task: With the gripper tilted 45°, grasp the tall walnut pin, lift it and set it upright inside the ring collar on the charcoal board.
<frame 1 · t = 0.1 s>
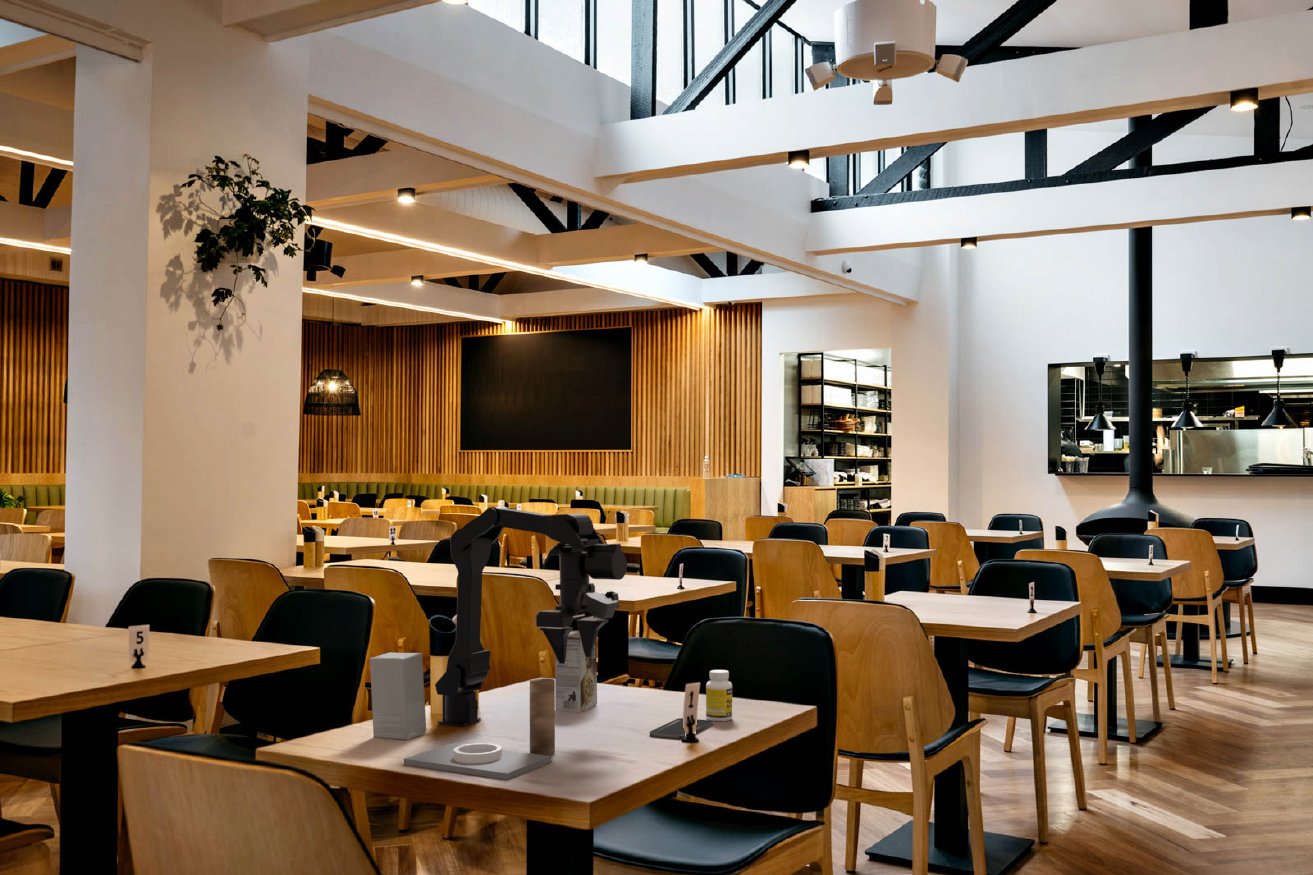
hand: (575, 660, 208), 15 cm above the table, tool pointing down, fingers open, 9 cm apart
skincare box: (397, 737, 209), on the table
walnut pin: (542, 753, 195), on the table
coffee box: (576, 708, 236), on the table
supplement bottle: (719, 720, 223), on the table
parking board: (477, 763, 188), on the table
phone: (682, 733, 213), on the table
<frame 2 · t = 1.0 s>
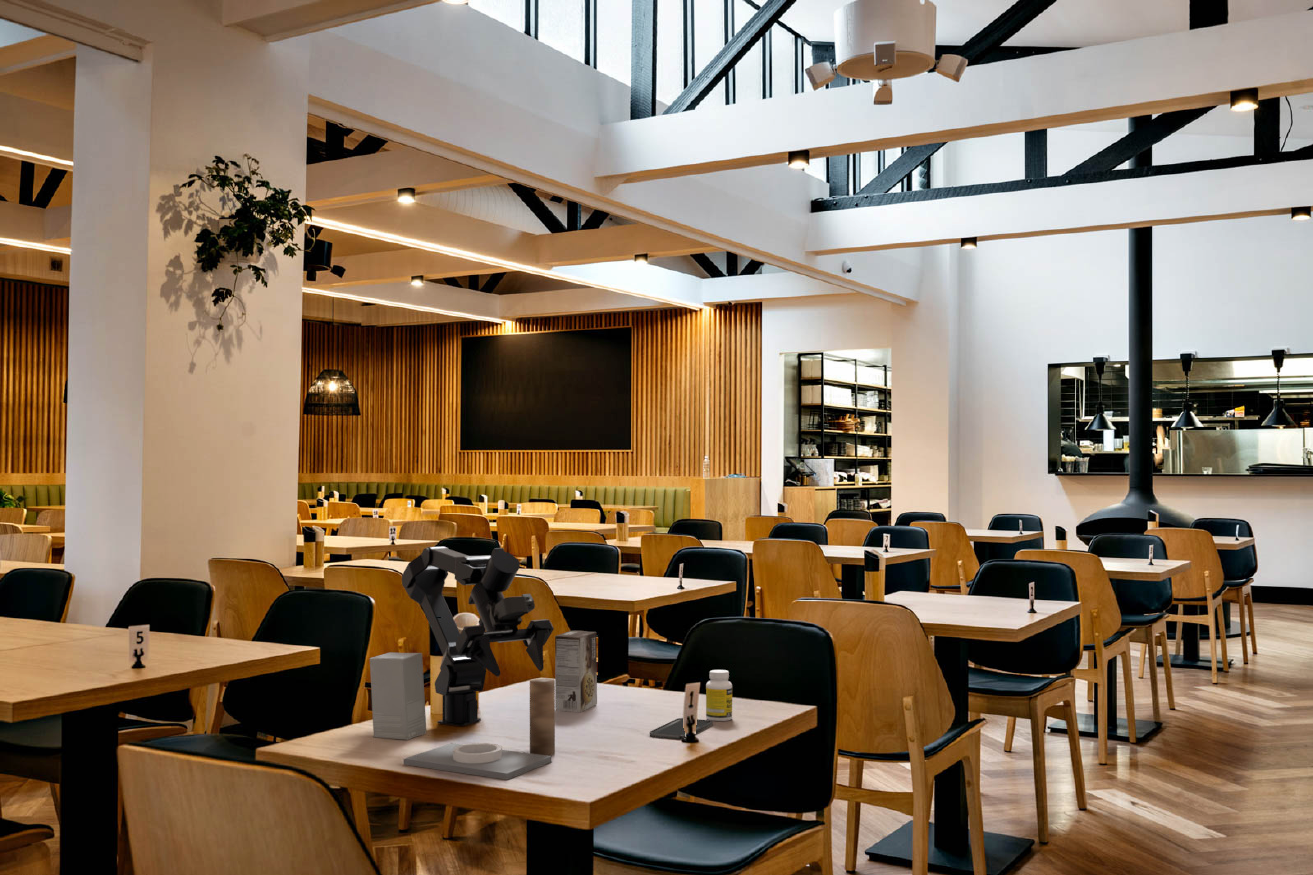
hand: (520, 672, 202), 13 cm above the table, tool tilted 45°, fingers open, 9 cm apart
nothing on the table moved.
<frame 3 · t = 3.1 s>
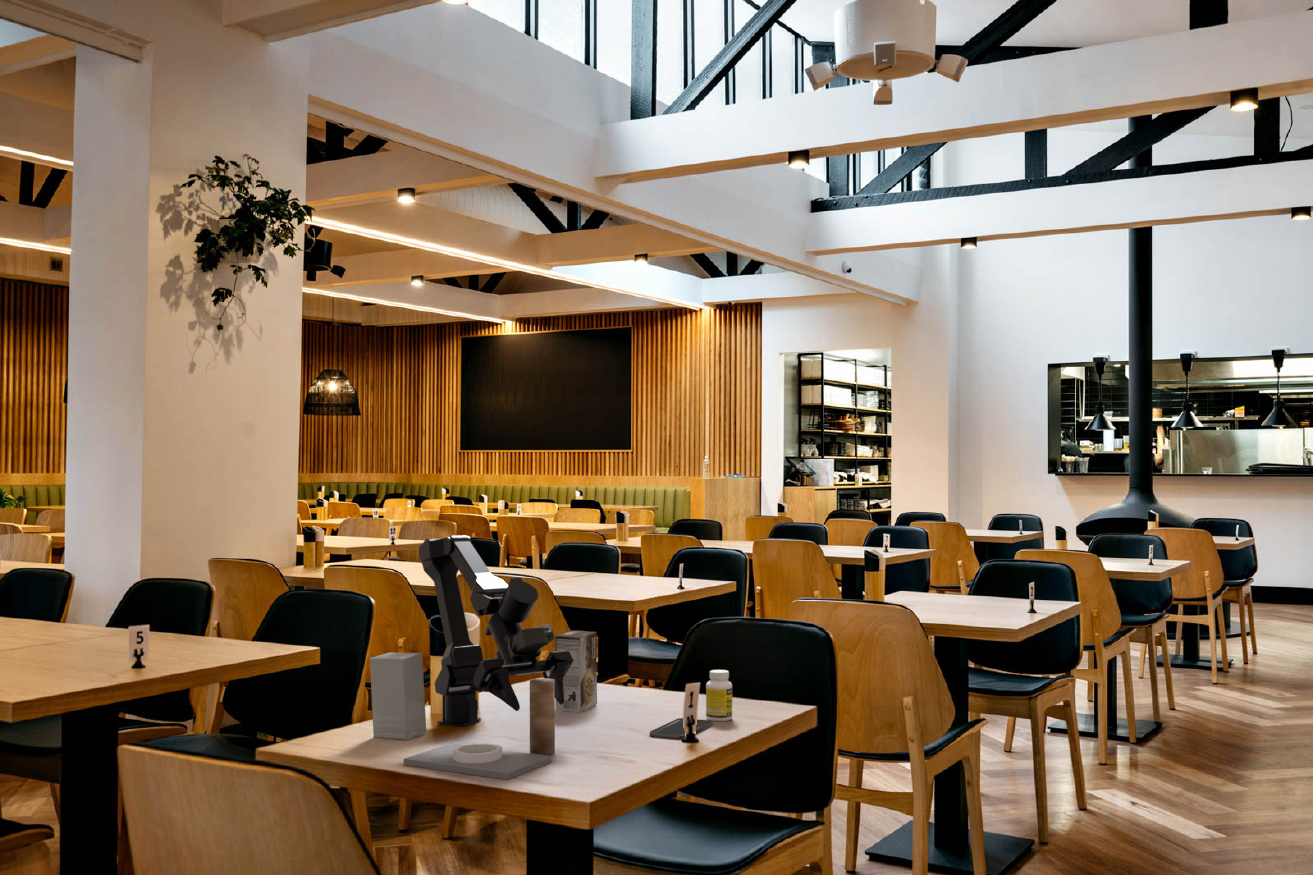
hand: (540, 706, 195), 8 cm above the table, tool tilted 45°, fingers open, 9 cm apart
nothing on the table moved.
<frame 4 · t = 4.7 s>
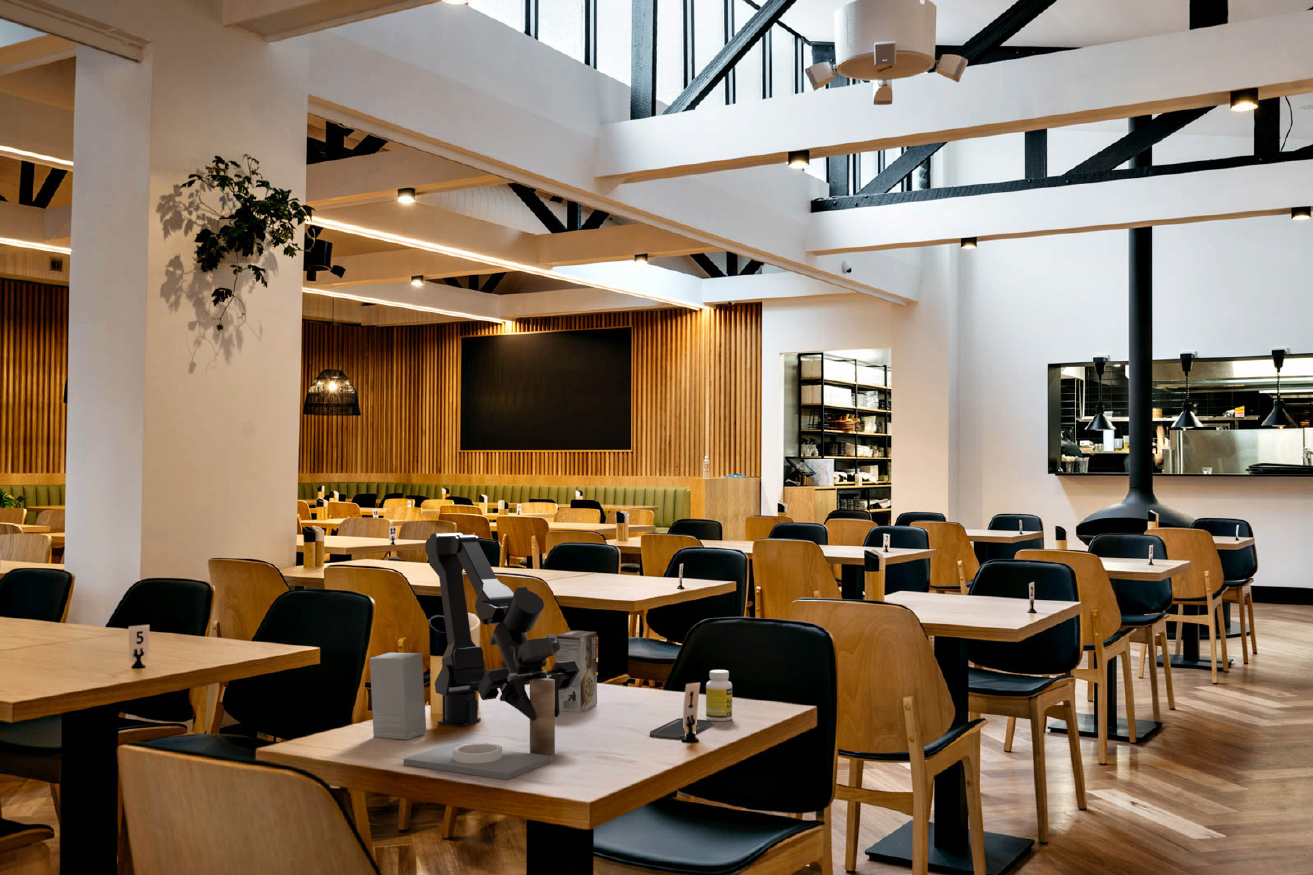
hand: (546, 717, 194), 7 cm above the table, tool tilted 45°, fingers closed on walnut pin, 4 cm apart
walnut pin: (542, 753, 195), on the table, touching gripper
everything else where it was.
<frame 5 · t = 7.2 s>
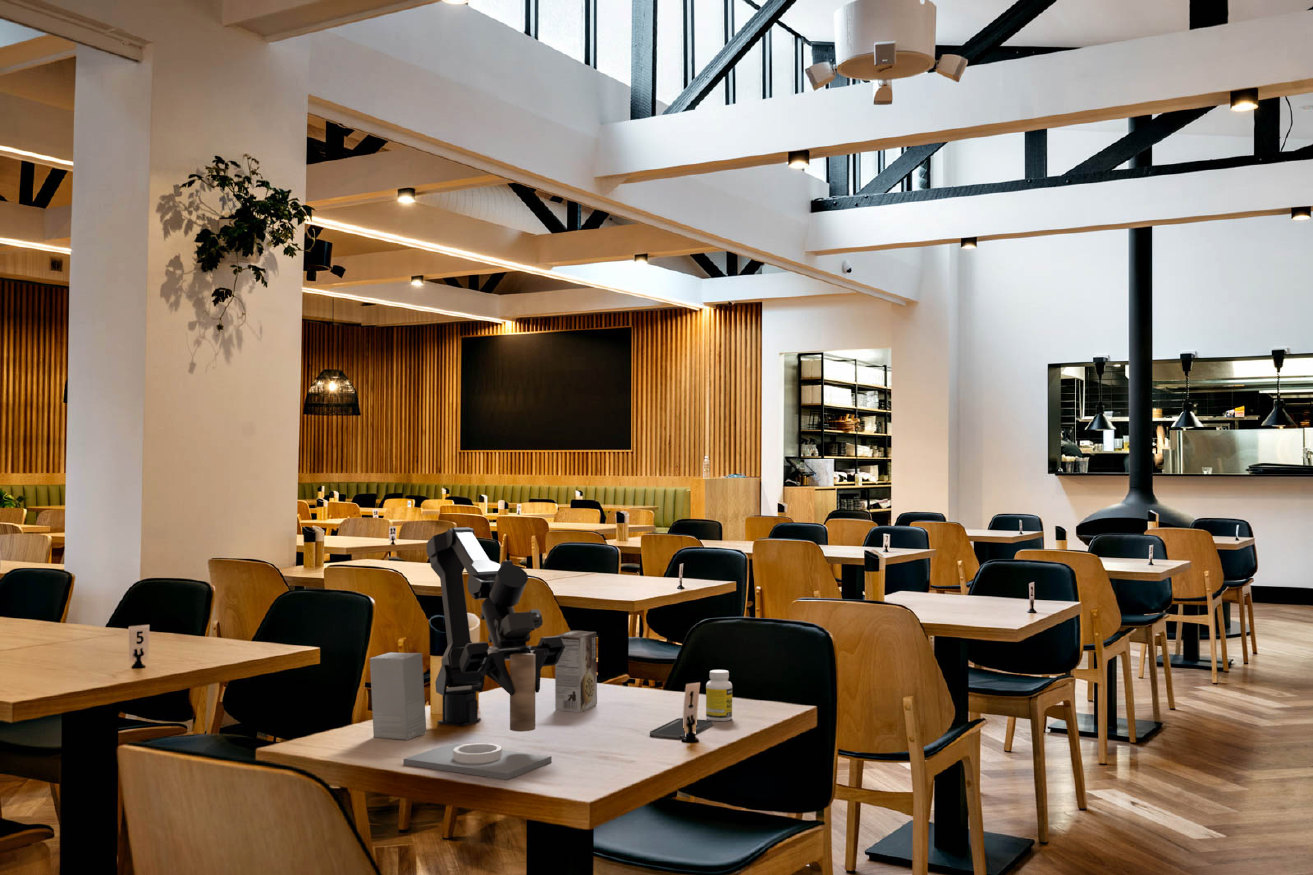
hand: (525, 692, 191), 12 cm above the table, tool tilted 45°, fingers closed on walnut pin, 4 cm apart
walnut pin: (522, 728, 192), point 5 cm above the table, touching gripper
everything else where it was.
when the fingers open (8 cm above the table, at t = 9.7 s): walnut pin stays where it is, resting on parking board.
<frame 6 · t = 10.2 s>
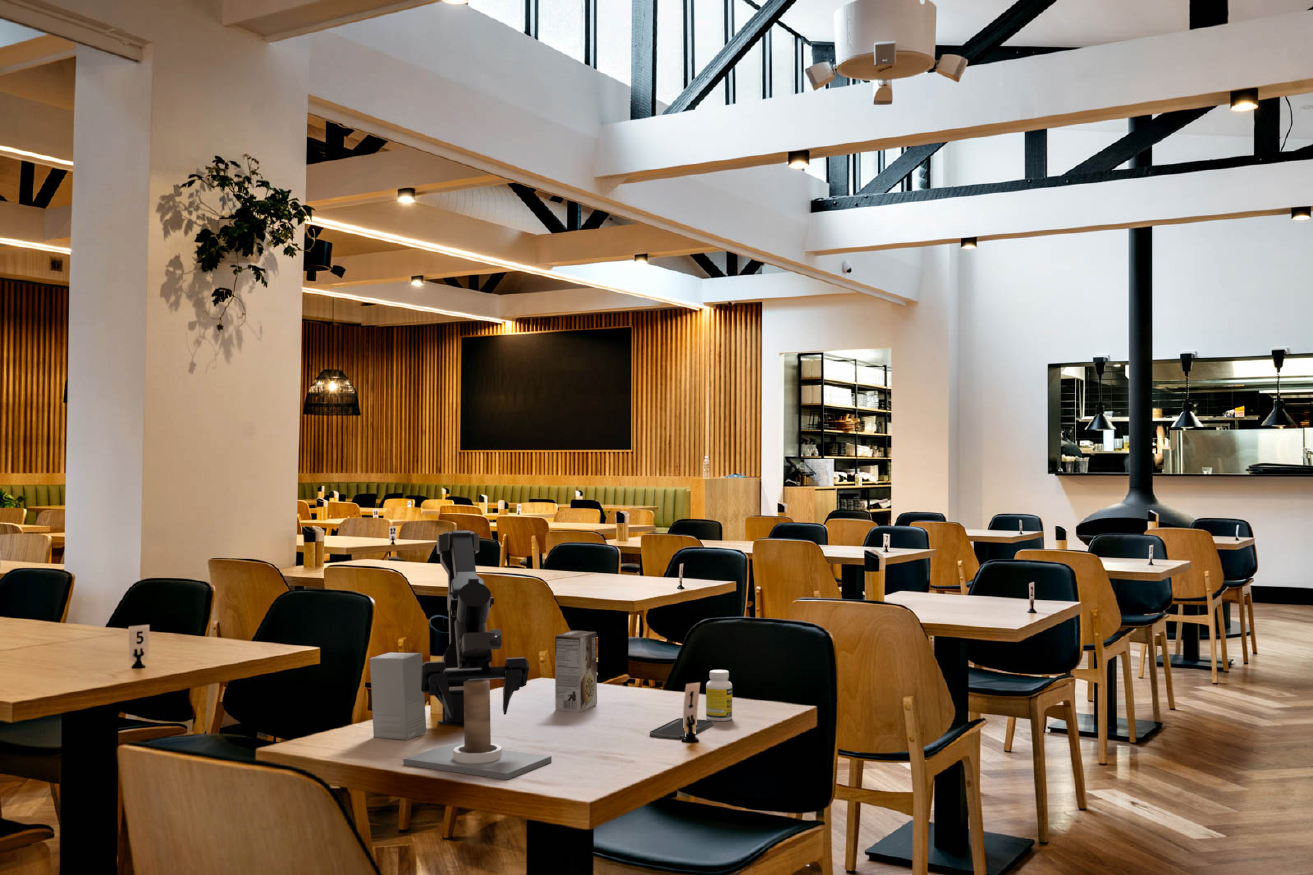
hand: (478, 714, 187), 9 cm above the table, tool tilted 45°, fingers open, 9 cm apart
walnut pin: (477, 757, 188), point 1 cm above the table, touching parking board
everything else where it was.
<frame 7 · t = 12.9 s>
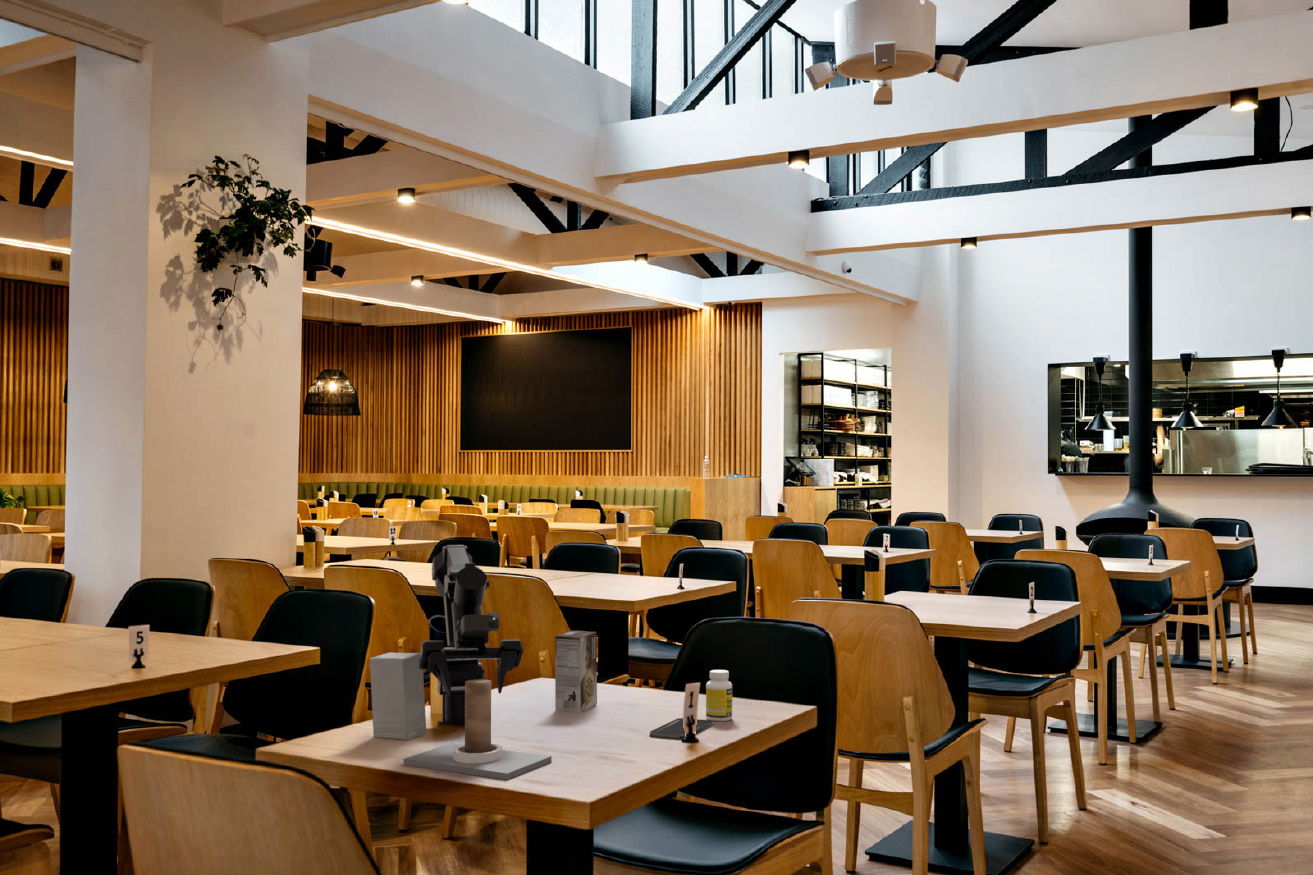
hand: (475, 692, 197), 11 cm above the table, tool tilted 45°, fingers open, 9 cm apart
nothing on the table moved.
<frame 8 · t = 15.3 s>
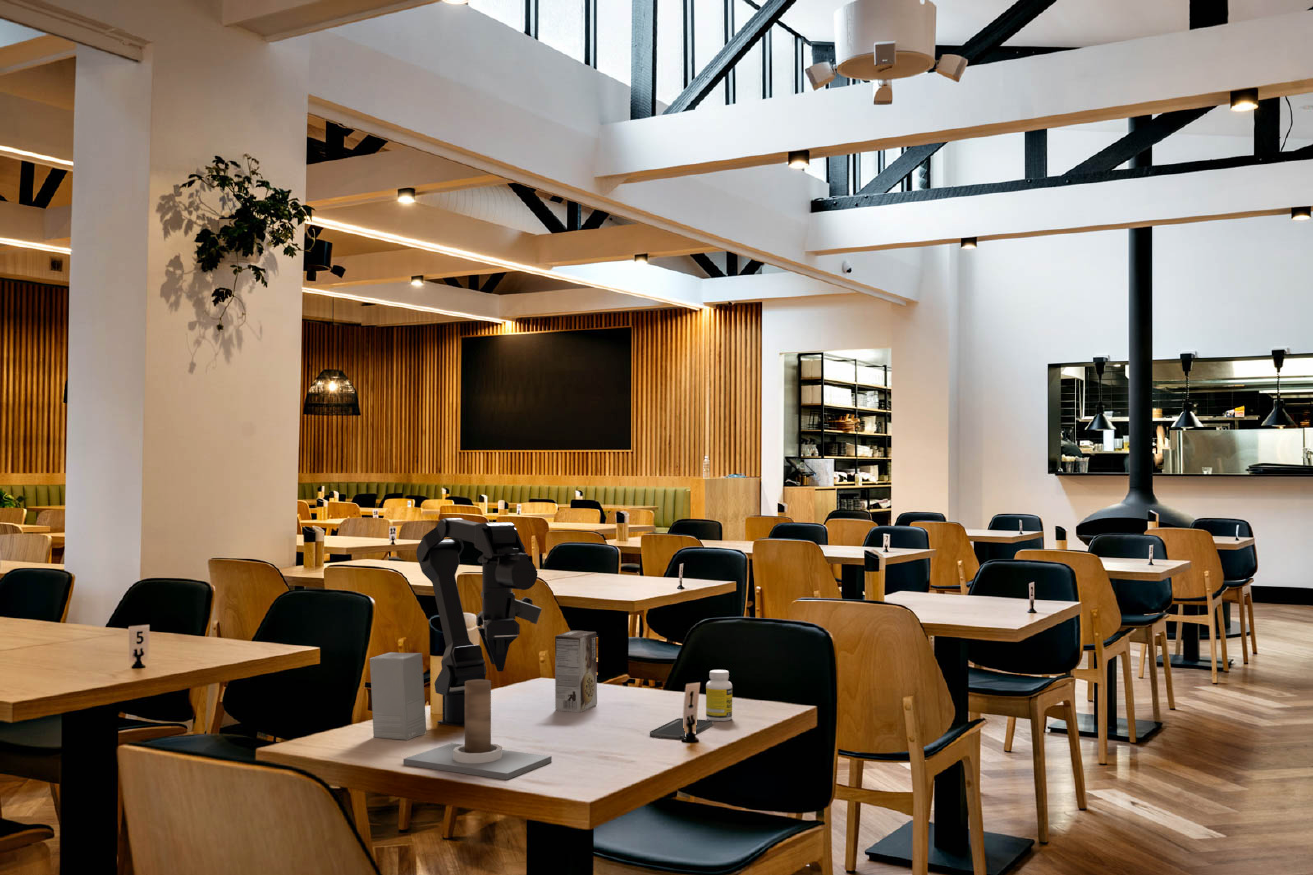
hand: (497, 667, 210), 13 cm above the table, tool pointing down, fingers open, 9 cm apart
nothing on the table moved.
at the end: walnut pin 0.0 cm off-centre on the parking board, point 1.0 cm above the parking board's base; walnut pin tilted 1°; the gripper is holding nothing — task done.
